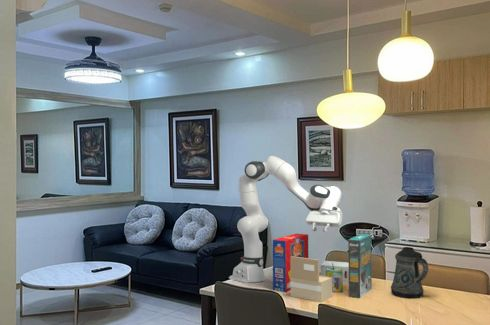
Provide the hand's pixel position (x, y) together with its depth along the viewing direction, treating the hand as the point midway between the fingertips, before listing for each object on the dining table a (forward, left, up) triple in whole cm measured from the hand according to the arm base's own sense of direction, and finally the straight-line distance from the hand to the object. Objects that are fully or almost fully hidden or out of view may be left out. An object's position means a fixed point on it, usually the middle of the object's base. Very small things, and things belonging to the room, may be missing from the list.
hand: (319, 230), depth 260 cm
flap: (0, -16, -23) cm, 29 cm away
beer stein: (+41, +24, -34) cm, 58 cm away
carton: (0, -9, -33) cm, 35 cm away
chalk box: (+4, +10, -34) cm, 35 cm away
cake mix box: (+18, +13, -34) cm, 40 cm away
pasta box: (-20, +4, -34) cm, 39 cm away
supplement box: (-7, +35, -34) cm, 49 cm away
